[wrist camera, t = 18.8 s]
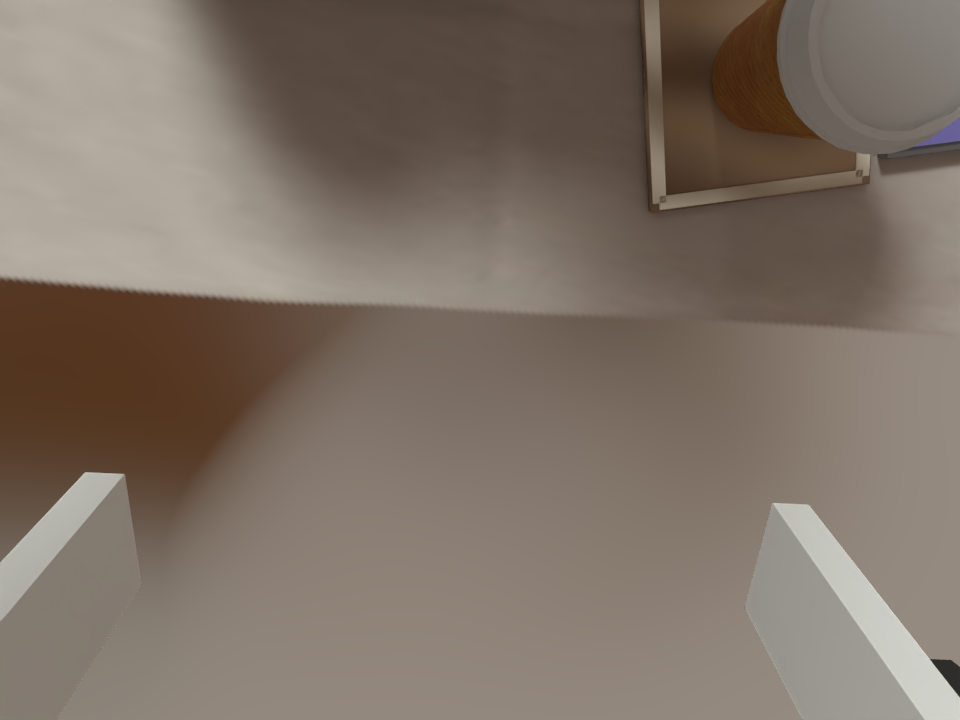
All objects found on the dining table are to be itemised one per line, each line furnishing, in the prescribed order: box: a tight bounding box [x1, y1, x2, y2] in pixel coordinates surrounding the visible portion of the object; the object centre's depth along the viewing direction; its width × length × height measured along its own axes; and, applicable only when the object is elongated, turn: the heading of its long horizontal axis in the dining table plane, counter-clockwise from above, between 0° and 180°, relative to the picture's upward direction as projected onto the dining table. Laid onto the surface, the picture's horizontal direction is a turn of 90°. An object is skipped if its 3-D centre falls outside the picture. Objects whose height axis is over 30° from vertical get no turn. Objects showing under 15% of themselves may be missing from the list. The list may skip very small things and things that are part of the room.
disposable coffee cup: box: [712, 0, 960, 155], centre depth 34 cm, size 10×10×12 cm
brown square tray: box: [640, 0, 871, 213], centre depth 40 cm, size 13×13×1 cm
